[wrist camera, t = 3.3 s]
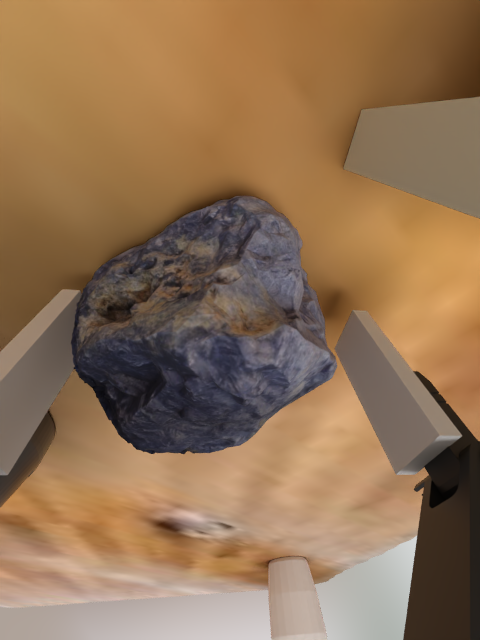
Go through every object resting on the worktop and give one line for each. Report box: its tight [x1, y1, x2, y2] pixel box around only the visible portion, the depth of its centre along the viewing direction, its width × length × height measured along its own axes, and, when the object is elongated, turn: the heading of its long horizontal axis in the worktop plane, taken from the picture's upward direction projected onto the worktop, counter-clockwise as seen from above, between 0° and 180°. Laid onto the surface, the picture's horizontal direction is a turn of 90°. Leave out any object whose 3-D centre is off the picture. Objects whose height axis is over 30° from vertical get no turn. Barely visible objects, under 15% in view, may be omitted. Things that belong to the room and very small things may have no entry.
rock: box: [71, 196, 337, 454], centre depth 12 cm, size 11×10×10 cm
